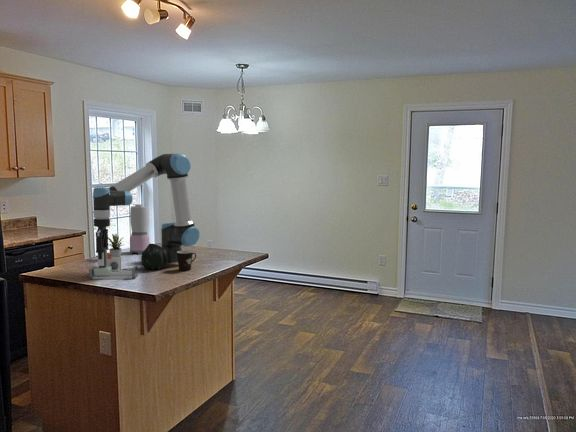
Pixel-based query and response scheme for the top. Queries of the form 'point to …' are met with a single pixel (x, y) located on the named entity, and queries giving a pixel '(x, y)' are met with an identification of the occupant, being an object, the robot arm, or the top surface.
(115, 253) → the house plant
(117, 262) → the gauge cabinet
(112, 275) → the rail base
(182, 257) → the coffee mug
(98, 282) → the top surface
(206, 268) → the top surface
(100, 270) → the carriage
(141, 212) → the blender
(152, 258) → the squash
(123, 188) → the robot arm
